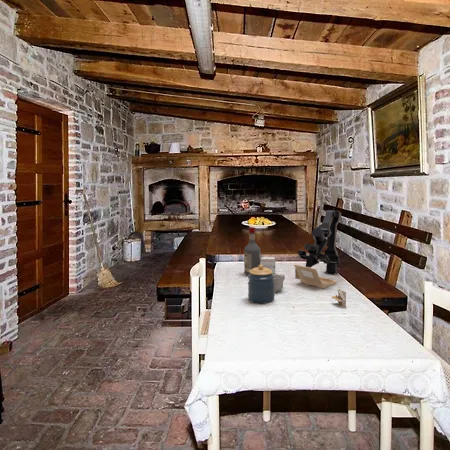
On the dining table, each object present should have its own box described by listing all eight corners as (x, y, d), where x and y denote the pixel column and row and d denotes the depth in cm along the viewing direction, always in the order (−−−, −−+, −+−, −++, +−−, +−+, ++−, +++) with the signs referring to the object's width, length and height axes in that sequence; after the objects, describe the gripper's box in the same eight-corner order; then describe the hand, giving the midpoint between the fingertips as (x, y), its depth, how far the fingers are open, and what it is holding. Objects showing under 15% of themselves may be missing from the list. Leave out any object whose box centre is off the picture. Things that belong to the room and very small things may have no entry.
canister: (256, 305, 160) (255, 268, 158) (243, 297, 172) (243, 263, 170) (279, 301, 165) (279, 265, 163) (265, 293, 177) (265, 260, 175)
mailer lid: (294, 264, 191) (294, 264, 191) (316, 268, 179) (315, 269, 179) (300, 278, 195) (300, 278, 195) (322, 283, 183) (321, 284, 183)
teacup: (270, 295, 175) (270, 279, 174) (259, 289, 184) (258, 275, 183) (292, 290, 181) (292, 276, 180) (279, 285, 191) (279, 271, 190)
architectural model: (339, 309, 154) (339, 293, 153) (330, 304, 161) (331, 288, 160) (346, 308, 155) (346, 292, 154) (337, 303, 162) (337, 288, 161)
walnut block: (299, 276, 208) (299, 267, 207) (304, 278, 204) (304, 268, 204) (295, 278, 205) (295, 268, 204) (300, 279, 202) (300, 269, 201)
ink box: (275, 275, 212) (274, 257, 210) (275, 277, 207) (275, 258, 205) (261, 275, 212) (260, 257, 211) (261, 277, 207) (261, 258, 206)
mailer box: (313, 278, 203) (313, 275, 202) (336, 284, 190) (336, 280, 190) (300, 282, 196) (300, 279, 195) (322, 288, 183) (322, 284, 183)
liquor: (256, 272, 221) (255, 226, 217) (262, 275, 212) (261, 228, 209) (243, 273, 218) (242, 227, 215) (248, 277, 209) (248, 228, 206)
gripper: (299, 236, 194) (286, 258, 189) (326, 239, 179) (313, 263, 174) (308, 247, 200) (295, 269, 195) (335, 251, 185) (322, 275, 180)
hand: (306, 269), depth 186 cm, fingers closed, pressing on mailer lid
